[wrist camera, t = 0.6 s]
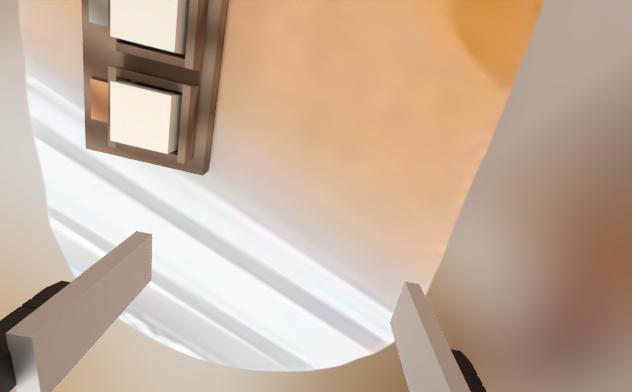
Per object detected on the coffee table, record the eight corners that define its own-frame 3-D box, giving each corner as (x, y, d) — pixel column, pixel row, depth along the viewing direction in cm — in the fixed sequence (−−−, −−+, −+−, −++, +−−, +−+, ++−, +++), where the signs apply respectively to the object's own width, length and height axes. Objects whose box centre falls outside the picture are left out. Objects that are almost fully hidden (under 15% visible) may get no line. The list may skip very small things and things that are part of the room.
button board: (92, -201, 27) (50, -253, 23) (246, -155, 28) (232, -198, 24) (97, 145, 38) (69, 152, 34) (208, 170, 39) (194, 181, 35)
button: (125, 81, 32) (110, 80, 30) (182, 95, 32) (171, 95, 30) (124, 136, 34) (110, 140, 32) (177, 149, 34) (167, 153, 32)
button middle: (127, -30, 28) (110, -39, 26) (190, -13, 29) (179, -21, 27) (126, 40, 31) (110, 36, 28) (185, 55, 31) (174, 52, 29)
